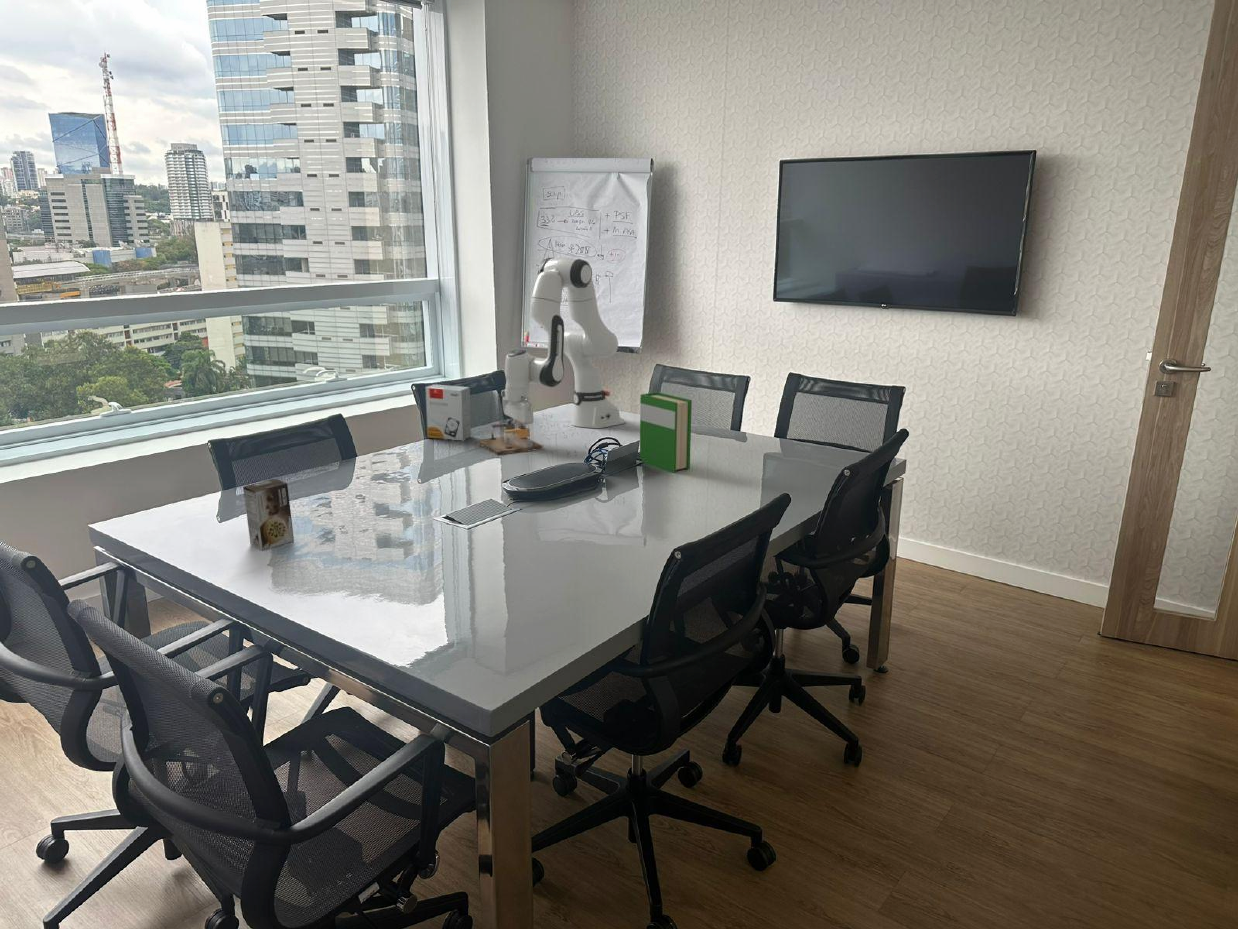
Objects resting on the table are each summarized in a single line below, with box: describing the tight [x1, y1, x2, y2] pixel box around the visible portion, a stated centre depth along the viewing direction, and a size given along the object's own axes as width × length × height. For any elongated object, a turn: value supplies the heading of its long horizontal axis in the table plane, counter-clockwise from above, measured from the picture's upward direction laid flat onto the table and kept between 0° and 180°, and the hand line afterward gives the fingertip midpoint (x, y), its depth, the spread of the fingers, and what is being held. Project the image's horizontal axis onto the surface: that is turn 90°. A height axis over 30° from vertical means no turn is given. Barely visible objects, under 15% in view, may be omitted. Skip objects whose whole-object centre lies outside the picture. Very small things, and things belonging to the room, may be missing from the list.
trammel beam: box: [490, 419, 533, 447], centre depth 323 cm, size 9×19×6 cm, turn 30°
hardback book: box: [639, 391, 693, 474], centre depth 295 cm, size 18×7×24 cm, turn 39°
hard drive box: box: [424, 383, 472, 442], centre depth 333 cm, size 16×8×20 cm, turn 73°
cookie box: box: [243, 478, 295, 552], centre depth 223 cm, size 9×6×16 cm
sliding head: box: [503, 425, 531, 444], centre depth 320 cm, size 9×4×6 cm, turn 120°
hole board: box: [475, 435, 543, 456], centre depth 323 cm, size 18×20×1 cm
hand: (518, 430), depth 323 cm, fingers closed
